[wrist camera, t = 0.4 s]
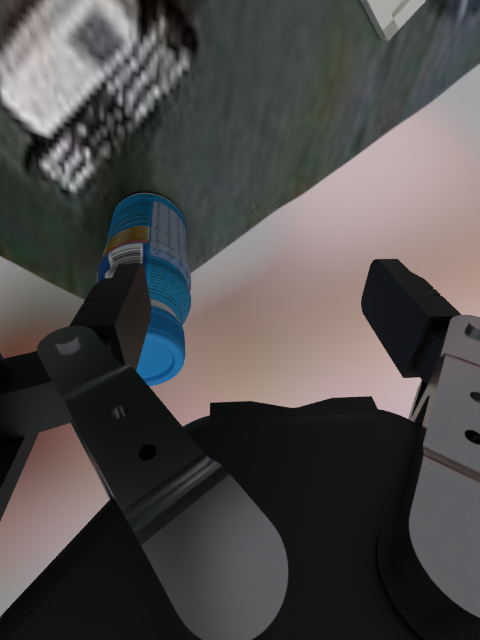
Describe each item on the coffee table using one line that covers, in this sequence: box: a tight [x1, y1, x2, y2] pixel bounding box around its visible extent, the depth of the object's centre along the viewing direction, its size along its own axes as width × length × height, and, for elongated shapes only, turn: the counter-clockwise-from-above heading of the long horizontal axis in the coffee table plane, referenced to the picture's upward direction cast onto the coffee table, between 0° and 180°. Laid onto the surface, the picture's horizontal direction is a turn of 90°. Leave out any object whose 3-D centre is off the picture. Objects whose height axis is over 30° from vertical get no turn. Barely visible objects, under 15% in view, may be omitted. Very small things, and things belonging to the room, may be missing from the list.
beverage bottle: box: [97, 193, 191, 386], centre depth 31 cm, size 8×8×20 cm
